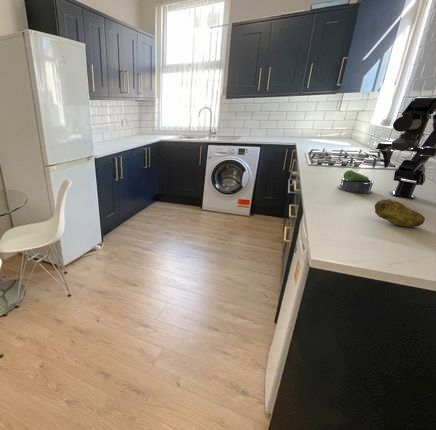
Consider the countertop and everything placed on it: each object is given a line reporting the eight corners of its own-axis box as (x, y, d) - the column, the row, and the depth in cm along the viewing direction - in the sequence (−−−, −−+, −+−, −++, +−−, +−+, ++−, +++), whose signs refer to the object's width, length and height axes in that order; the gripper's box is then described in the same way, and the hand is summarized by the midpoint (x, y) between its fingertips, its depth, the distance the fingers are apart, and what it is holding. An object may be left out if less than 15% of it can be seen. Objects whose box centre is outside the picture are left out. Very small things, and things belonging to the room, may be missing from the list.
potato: (418, 232, 90) (428, 209, 87) (367, 220, 100) (375, 199, 97) (422, 226, 95) (432, 204, 92) (373, 215, 104) (381, 194, 101)
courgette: (357, 176, 137) (342, 170, 130) (368, 174, 133) (353, 169, 126) (357, 185, 136) (342, 180, 130) (368, 184, 132) (353, 178, 126)
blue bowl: (340, 185, 142) (343, 175, 140) (370, 189, 135) (373, 179, 133) (337, 190, 134) (341, 180, 132) (369, 195, 127) (373, 184, 125)
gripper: (374, 129, 116) (362, 166, 122) (436, 133, 100) (418, 176, 106) (389, 128, 120) (376, 164, 126) (450, 132, 105) (432, 173, 110)
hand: (398, 169), depth 117 cm, fingers open, 9 cm apart
